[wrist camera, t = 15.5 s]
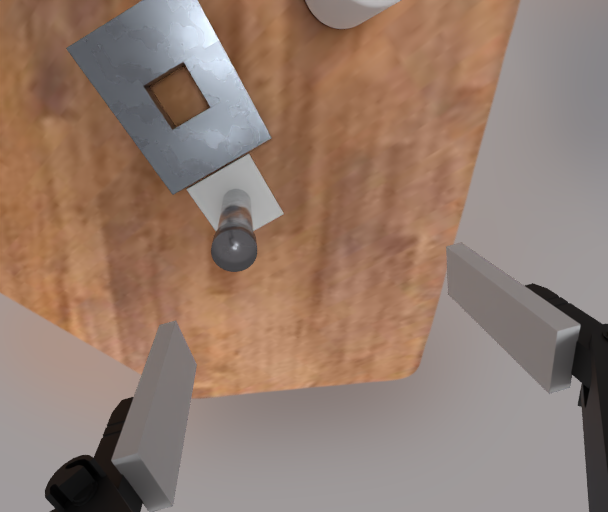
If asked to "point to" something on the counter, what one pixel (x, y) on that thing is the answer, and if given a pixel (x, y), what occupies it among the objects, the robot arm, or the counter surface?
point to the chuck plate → (156, 65)
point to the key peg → (235, 233)
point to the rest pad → (236, 177)
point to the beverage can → (347, 11)
